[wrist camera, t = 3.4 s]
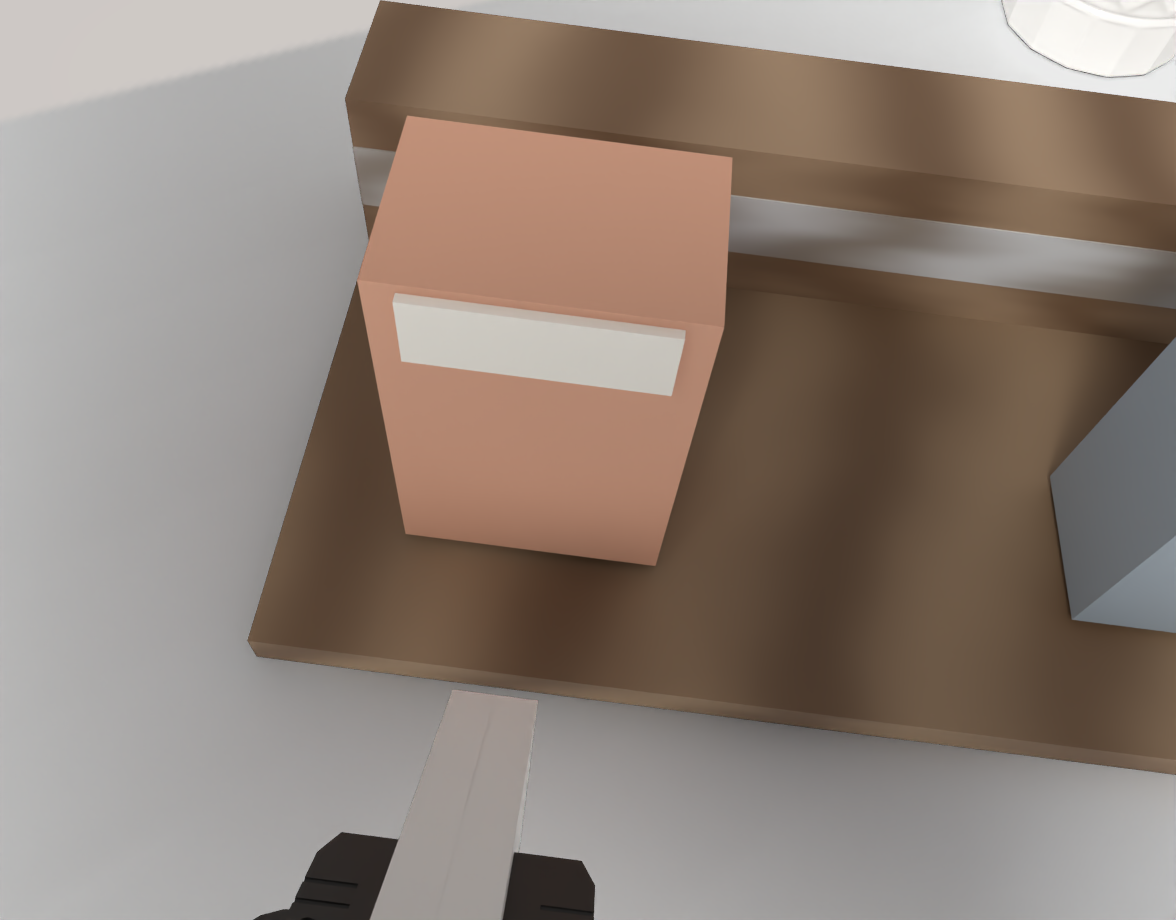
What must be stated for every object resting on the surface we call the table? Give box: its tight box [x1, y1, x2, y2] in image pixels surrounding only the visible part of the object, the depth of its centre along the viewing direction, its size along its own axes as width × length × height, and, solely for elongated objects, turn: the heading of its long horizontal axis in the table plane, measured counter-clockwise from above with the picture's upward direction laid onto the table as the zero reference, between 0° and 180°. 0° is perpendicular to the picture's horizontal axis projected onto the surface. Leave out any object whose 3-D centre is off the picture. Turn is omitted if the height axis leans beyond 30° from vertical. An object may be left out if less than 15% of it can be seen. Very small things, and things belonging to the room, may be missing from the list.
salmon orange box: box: [357, 116, 733, 566], centre depth 21 cm, size 6×4×9 cm
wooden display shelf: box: [247, 1, 1176, 775], centre depth 25 cm, size 28×16×6 cm, turn 84°
